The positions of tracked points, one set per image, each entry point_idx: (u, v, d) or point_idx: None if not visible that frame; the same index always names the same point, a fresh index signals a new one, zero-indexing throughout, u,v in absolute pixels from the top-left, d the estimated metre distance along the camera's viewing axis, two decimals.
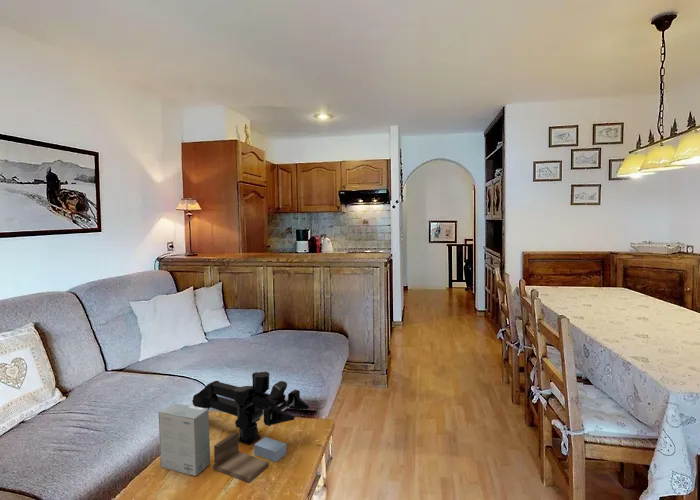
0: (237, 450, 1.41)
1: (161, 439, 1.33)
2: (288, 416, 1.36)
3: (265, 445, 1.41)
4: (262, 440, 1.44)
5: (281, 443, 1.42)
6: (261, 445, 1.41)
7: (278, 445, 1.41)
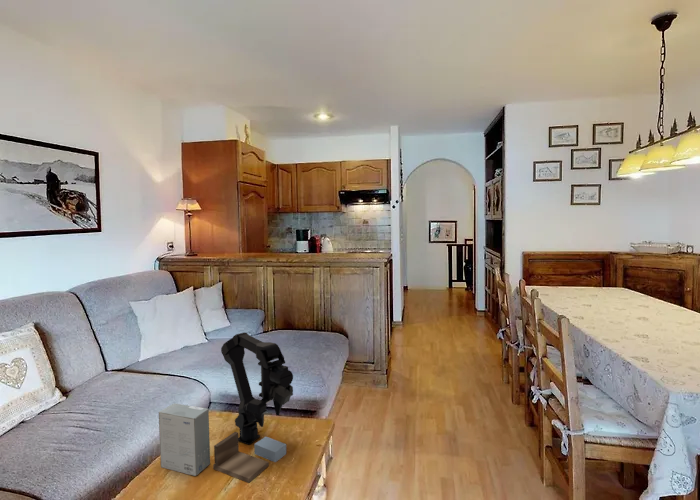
0: (237, 450, 1.41)
1: (161, 439, 1.33)
2: (261, 422, 1.36)
3: (265, 445, 1.41)
4: (262, 440, 1.45)
5: (281, 443, 1.42)
6: (261, 445, 1.41)
7: (277, 446, 1.41)
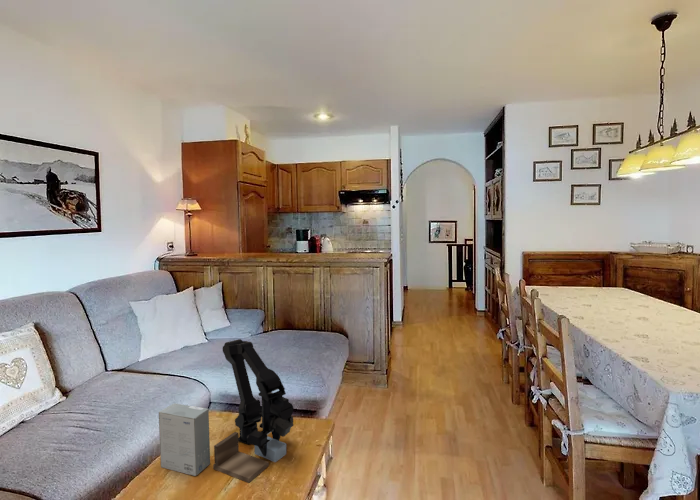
0: (237, 450, 1.41)
1: (161, 439, 1.33)
2: (264, 452, 1.38)
3: None
4: None
5: (281, 443, 1.42)
6: None
7: (277, 445, 1.41)
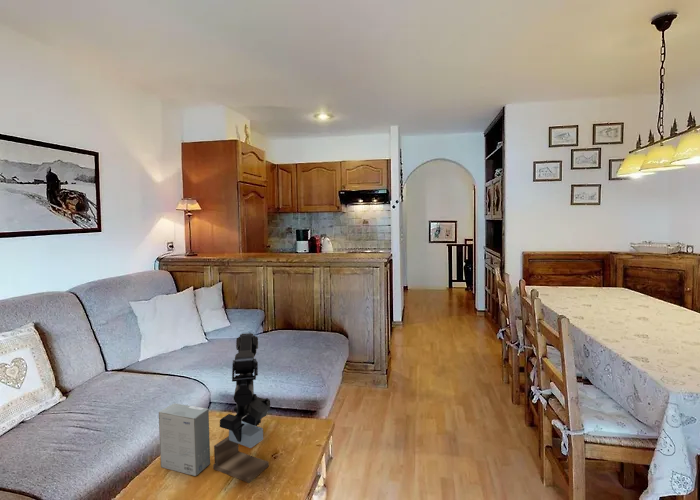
0: (237, 450, 1.41)
1: (161, 439, 1.33)
2: (238, 437, 1.29)
3: None
4: None
5: (257, 428, 1.33)
6: None
7: (253, 430, 1.32)
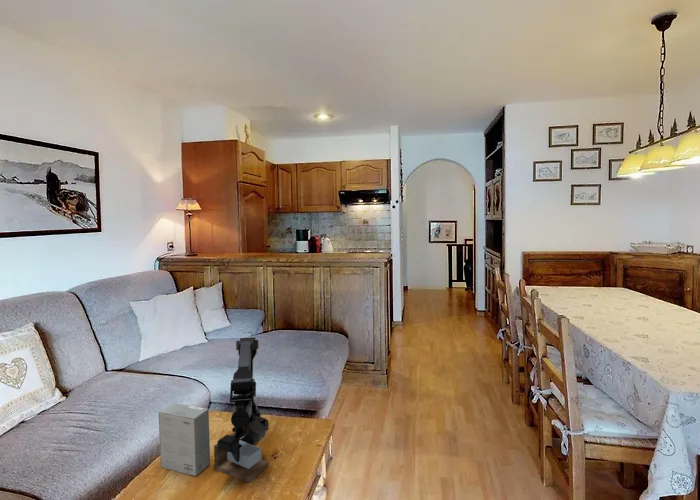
0: None
1: (161, 439, 1.33)
2: (236, 457, 1.30)
3: None
4: None
5: (256, 448, 1.33)
6: None
7: (251, 450, 1.32)
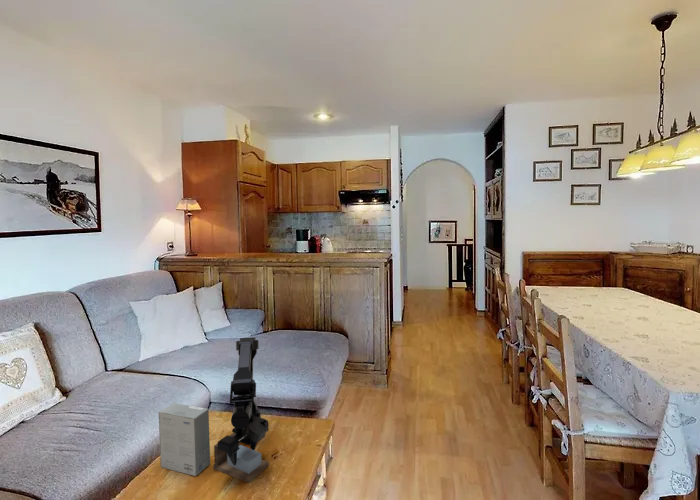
0: None
1: (161, 439, 1.33)
2: (233, 460, 1.28)
3: (238, 454, 1.33)
4: None
5: (256, 452, 1.33)
6: None
7: (252, 455, 1.32)
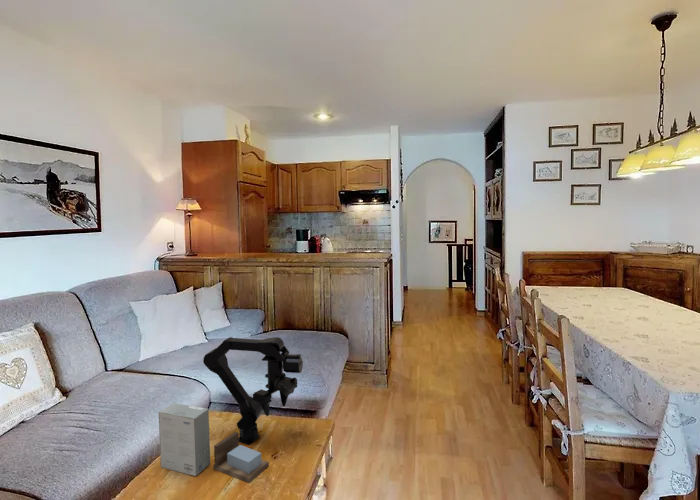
0: None
1: (161, 439, 1.33)
2: (266, 411, 1.45)
3: (238, 454, 1.33)
4: (236, 449, 1.36)
5: (256, 452, 1.33)
6: (235, 454, 1.32)
7: (252, 455, 1.32)
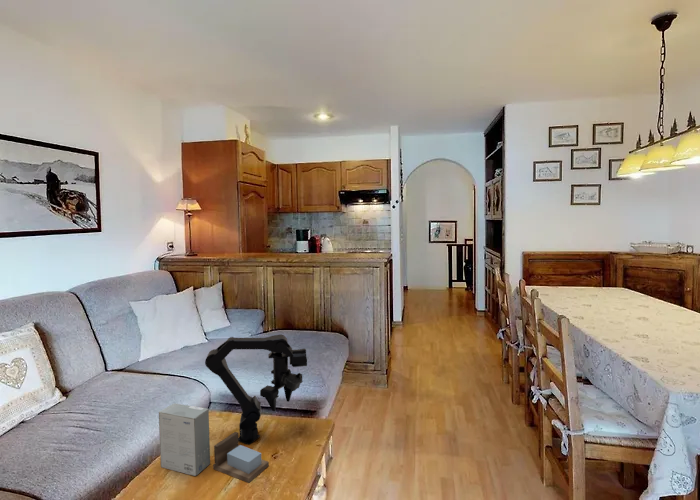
0: None
1: (161, 439, 1.33)
2: (273, 407, 1.49)
3: (238, 454, 1.33)
4: (236, 449, 1.36)
5: (256, 452, 1.33)
6: (235, 454, 1.32)
7: (252, 455, 1.32)
